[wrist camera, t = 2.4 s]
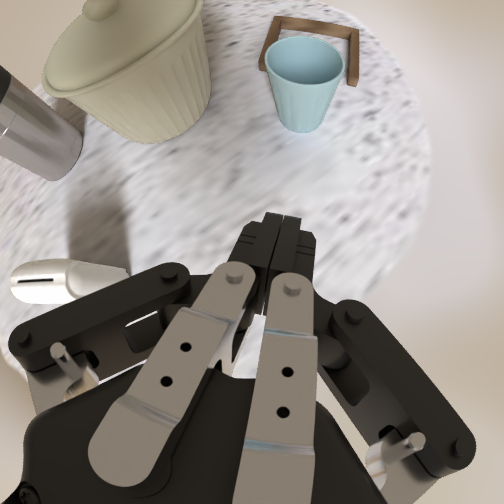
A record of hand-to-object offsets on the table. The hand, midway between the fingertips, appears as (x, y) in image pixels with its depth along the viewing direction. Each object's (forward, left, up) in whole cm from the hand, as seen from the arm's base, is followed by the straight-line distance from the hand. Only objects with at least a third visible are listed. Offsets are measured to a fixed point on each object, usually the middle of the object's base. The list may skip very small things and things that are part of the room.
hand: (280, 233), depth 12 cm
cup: (-1, +19, -18) cm, 26 cm away
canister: (-19, +18, -18) cm, 32 cm away
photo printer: (-21, -7, -18) cm, 29 cm away
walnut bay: (-1, +31, -18) cm, 36 cm away
